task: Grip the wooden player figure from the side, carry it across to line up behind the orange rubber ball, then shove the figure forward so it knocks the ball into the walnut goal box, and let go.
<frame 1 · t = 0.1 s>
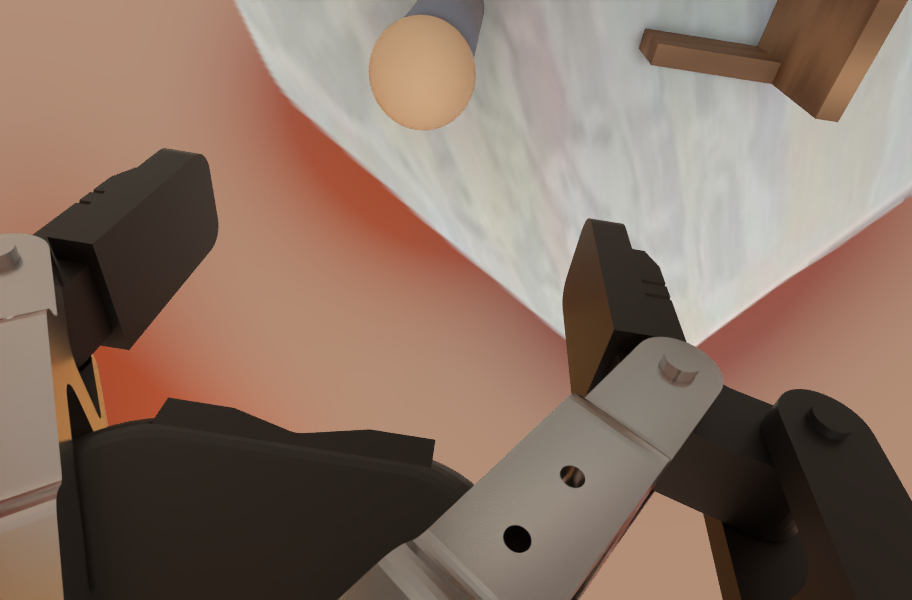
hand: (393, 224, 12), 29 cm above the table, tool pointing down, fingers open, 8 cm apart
player figure: (453, 8, 35), on the table
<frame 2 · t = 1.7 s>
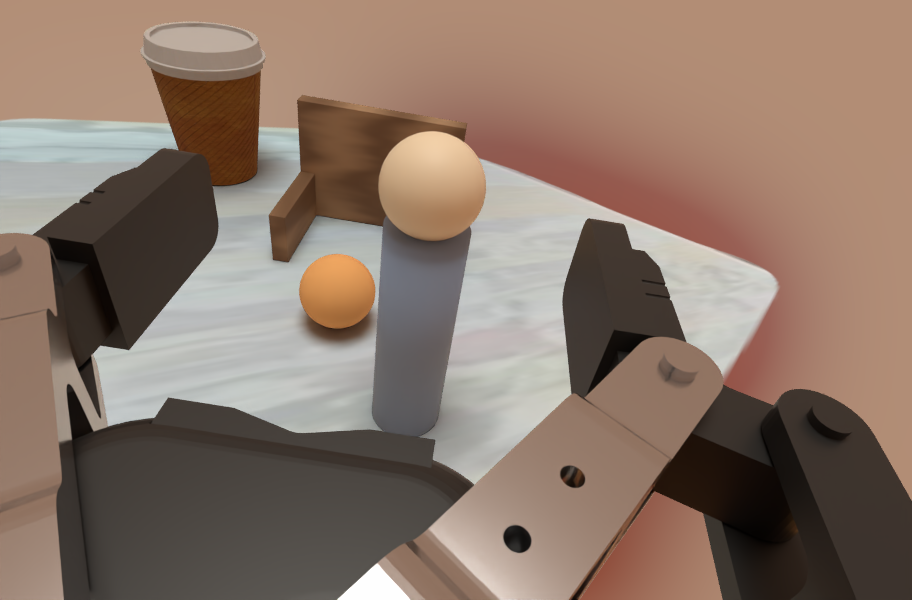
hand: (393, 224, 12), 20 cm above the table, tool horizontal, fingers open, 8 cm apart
player figure: (405, 410, 33), on the table
goal: (367, 245, 45), on the table
disposable coffee cup: (222, 172, 52), on the table
ball: (337, 291, 36), point 2 cm above the table
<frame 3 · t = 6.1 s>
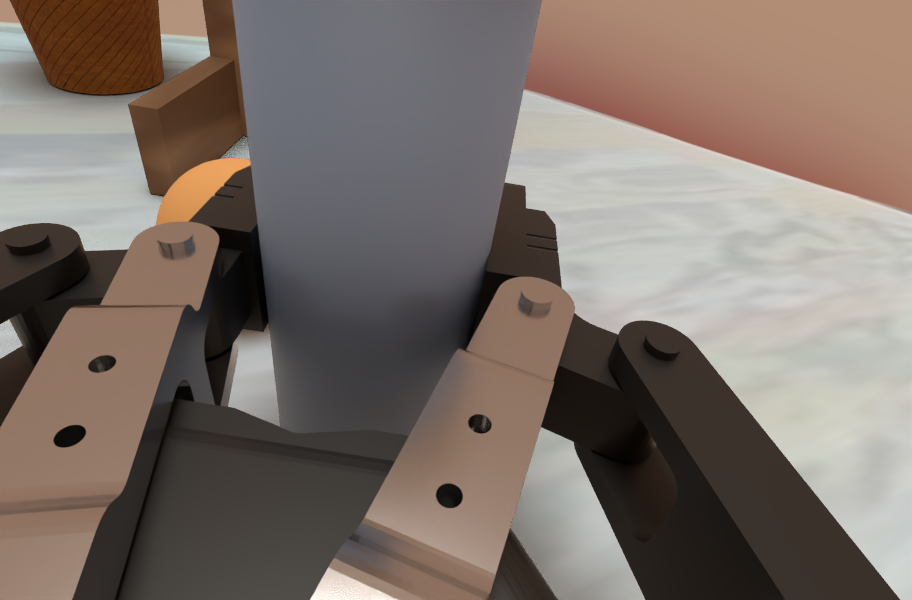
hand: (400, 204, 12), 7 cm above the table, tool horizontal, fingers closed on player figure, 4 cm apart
player figure: (366, 483, 14), on the table, touching gripper
goal: (321, 178, 27), on the table
disposable coffee cup: (108, 80, 34), on the table
ball: (240, 233, 18), point 2 cm above the table
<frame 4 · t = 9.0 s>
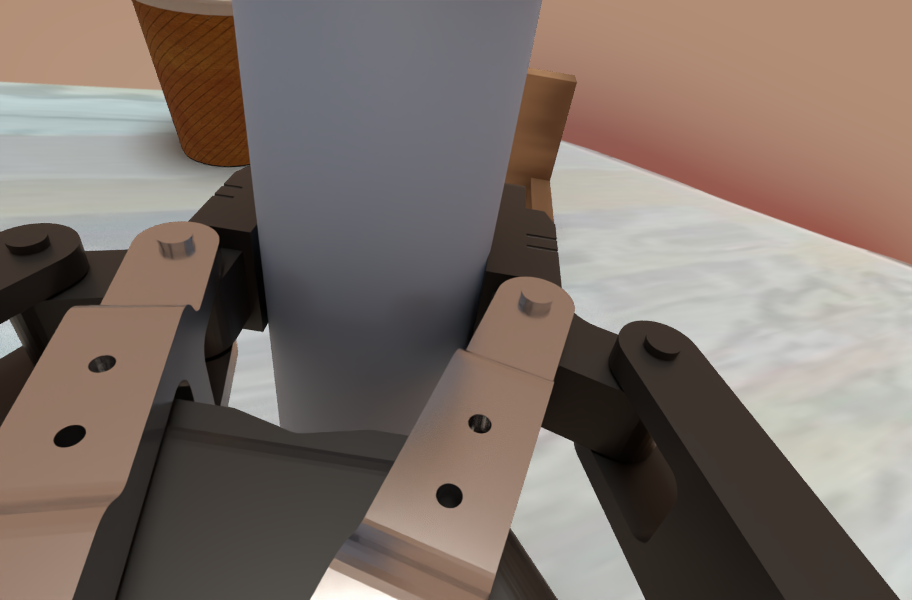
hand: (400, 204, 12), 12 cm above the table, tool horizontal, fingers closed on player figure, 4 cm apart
player figure: (366, 484, 14), point 5 cm above the table, touching gripper
goal: (430, 246, 33), on the table
disposable coffee cup: (230, 149, 40), on the table
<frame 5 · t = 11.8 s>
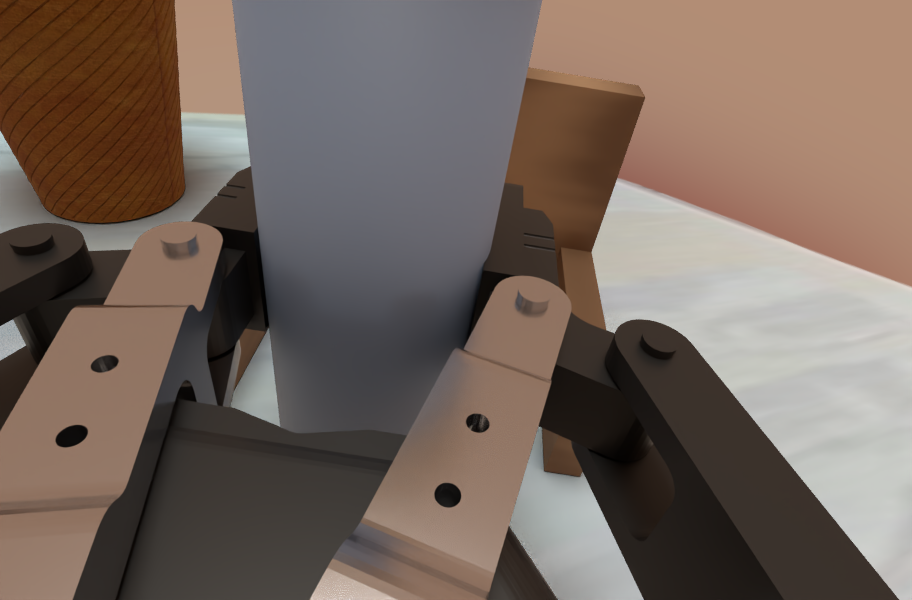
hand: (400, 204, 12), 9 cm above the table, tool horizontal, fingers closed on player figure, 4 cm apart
player figure: (366, 484, 14), point 2 cm above the table, touching gripper
goal: (402, 359, 21), on the table
disposable coffee cup: (117, 194, 27), on the table
when the fingers open (9 cm above the table, at t = 12.0 s): player figure drops 2 cm, on the table.
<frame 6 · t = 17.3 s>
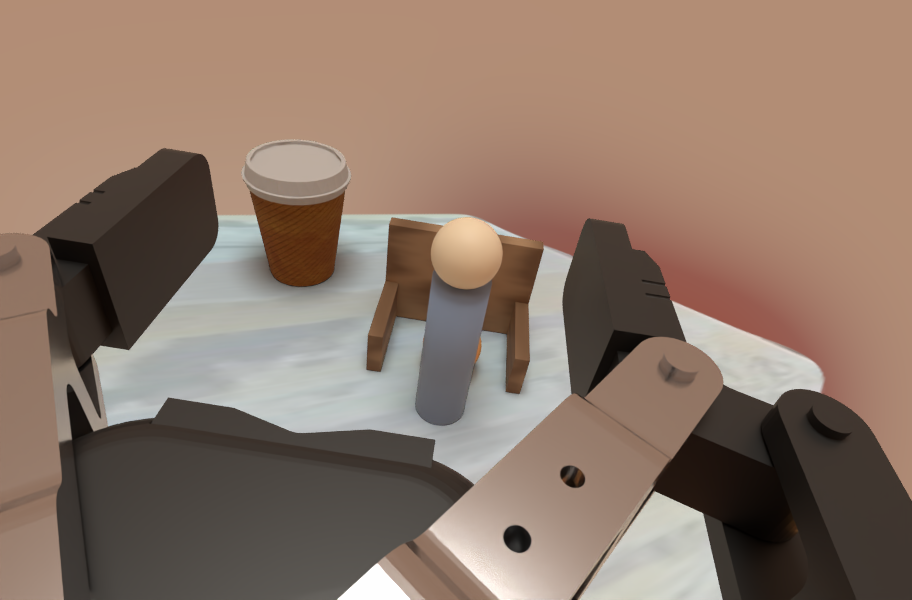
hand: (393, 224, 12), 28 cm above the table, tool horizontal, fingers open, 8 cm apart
player figure: (439, 405, 44), on the table
goal: (447, 349, 49), on the table
disposable coffee cup: (303, 269, 56), on the table
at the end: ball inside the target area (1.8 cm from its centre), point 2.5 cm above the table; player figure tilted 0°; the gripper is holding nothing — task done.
